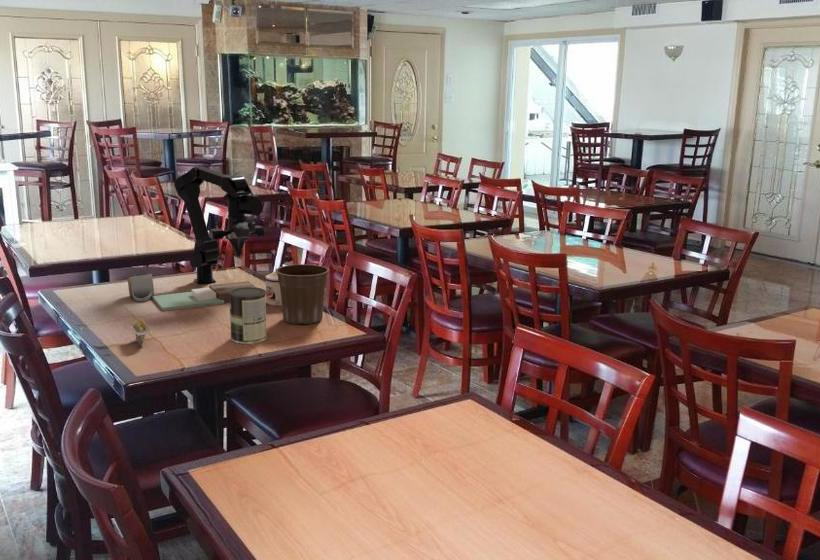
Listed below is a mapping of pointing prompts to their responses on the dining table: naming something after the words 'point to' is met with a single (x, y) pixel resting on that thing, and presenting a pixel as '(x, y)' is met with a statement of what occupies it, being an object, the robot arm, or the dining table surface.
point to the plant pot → (302, 292)
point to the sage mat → (182, 301)
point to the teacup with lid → (273, 290)
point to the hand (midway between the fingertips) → (238, 256)
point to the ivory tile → (203, 294)
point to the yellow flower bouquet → (140, 331)
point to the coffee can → (248, 315)
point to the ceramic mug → (141, 287)
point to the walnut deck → (228, 289)
